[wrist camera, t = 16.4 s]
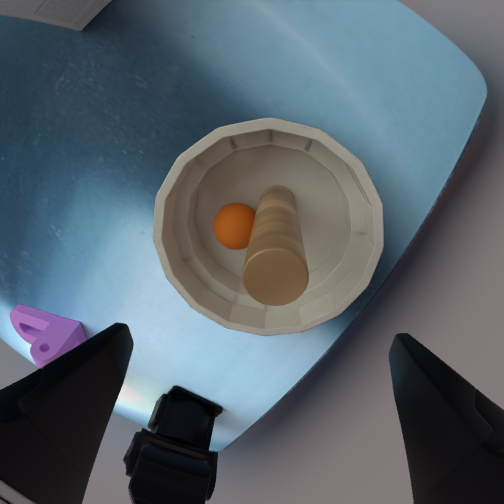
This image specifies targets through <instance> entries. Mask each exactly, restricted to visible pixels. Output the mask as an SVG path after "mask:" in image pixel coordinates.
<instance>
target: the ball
mask: <svg viewBox="0 0 504 504" xmlns="http://www.w3.org/2000/svg"><path fill="white" fill-rule="evenodd" d="M255 215H256V212H255V211H254V210H253V209H252V208H251V207H249V206H248V205H245V204H242V203H231V204H228V205H226V206H224V207H223V208H221V209H220V210H219V211H218V213H217V214H216V216H215V219H214V222H213V231H214V234H215V237H216V239H217V240H218V241H219V242H220V243H221V244H222V245H223V246H224V247H226V248H229V249H232V250H241V249H245V248H247V247H248V245H249V240H250V236H251V232H252V227H253V223H254V219H255Z"/></svg>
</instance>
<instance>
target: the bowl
mask: <svg viewBox="0 0 504 504" xmlns="http://www.w3.org/2000/svg"><path fill="white" fill-rule="evenodd" d="M274 185H280V186H284V187H286V188H287V189H289V190H290V191H291V192H292V194H293V196H294V199H295V203H296V208H297V213H298V218H299V223H300V228H301V233H302V239H303V244H304V249H305V255H306V260H307V266H308V272H309V282H308V285H307V288H306V290H305V291H304V293H303V294H302V295H301V296H300V297H299V298H298V299H296V300H295V301H293V302H291V303H289V304H286V305H282V306H269V305H265V304H262V303H260V302H258V301H256V300H255V299H253V298H252V297H251V296H250V295H249V294H248V293H247V291H246V290H245V288H244V286H243V282H242V270H243V266H244V262H245V257H246V253H247V249H248V247H247V248H245V249H241V250H232V249H229V248H226V247H224V246H223V245H222V244H221V243H220V242H219V241H218V240H217V239H216V237H215V234H214V231H213V222H214V219H215V216H216V214H217V213H218V211H219V210H220V209H221V208H223V207H224V206H226V205H228V204H231V203H242V204H245V205H248V206H249V207H251V208H252V209H253V210H254V211H255V212H256V210H257V206H258V202H259V198H260V195H261V193H262V192H263V191H264V190H265V189H266V188H268V187H270V186H274ZM153 241H154V244H155V247H156V250H157V253H158V256H159V259H160V262H161V265H162V268H163V271H164V274H165V276H166V278H167V280H168V281H169V282H170V283H171V284H172V286H173V287H174V288H175V289H176V290H177V292H178V293H179V294H180V295H181V296H182V297H183V299H184V300H185V301H186V302H187V303H188V304H189V306H190V307H191V308H193V309H194V310H196V311H198V312H199V313H201V314H203V315H204V316H206V317H208V318H209V319H211V320H213V321H215V322H216V323H218V324H220V325H222V326H223V327H225V328H228V329H233V330H237V331H242V332H247V333H252V334H256V335H261V336H270V335H280V334H289V333H297V332H303V331H306V330H308V329H311V328H313V327H315V326H317V325H319V324H321V323H323V322H326V321H328V320H330V319H332V318H334V317H336V316H338V315H339V314H341V313H342V312H343V311H344V310H345V309H346V308H347V307H348V306H349V305H350V304H351V303H352V302H353V301H354V300H355V299H356V298H357V297H358V296H359V295H360V294H361V293H362V292H363V291H364V290H365V289H366V288H367V286H368V285H369V282H370V280H371V278H372V275H373V273H374V271H375V268H376V266H377V263H378V261H379V259H380V256H381V254H382V251H383V248H384V226H383V205H382V201H381V199H380V197H379V195H378V193H377V191H376V189H375V186H374V184H373V182H372V180H371V178H370V176H369V174H368V172H367V171H366V169H365V167H364V165H363V163H362V162H361V161H360V160H359V159H358V158H357V157H356V156H355V155H353V154H352V153H351V152H350V151H348V150H347V149H346V148H345V147H343V146H342V145H341V144H340V143H338V142H337V141H336V140H335V139H333V138H332V137H331V136H329V135H328V134H327V133H325V132H324V131H322V130H321V129H317V128H313V127H310V126H306V125H302V124H298V123H294V122H289V121H285V120H281V119H276V118H269V117H268V118H262V119H257V120H251V121H246V122H241V123H236V124H231V125H226V126H222V127H219V128H217V129H215V130H214V131H212V132H211V133H209V134H208V135H207V136H205V137H204V138H202V139H201V140H200V141H198V142H197V143H195V144H194V145H193V146H191V147H190V148H189V149H187V150H186V151H185V152H183V153H182V154H181V155H179V157H178V158H177V159H176V161H175V163H174V164H173V166H172V168H171V170H170V172H169V173H168V175H167V177H166V179H165V181H164V182H163V184H162V186H161V188H160V190H159V192H158V194H157V196H156V201H155V212H154V226H153Z"/></svg>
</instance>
